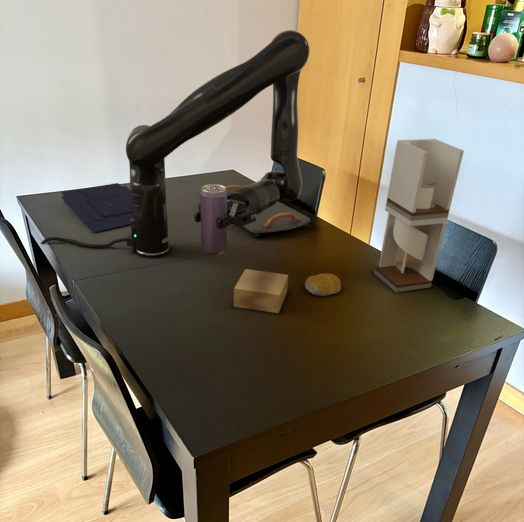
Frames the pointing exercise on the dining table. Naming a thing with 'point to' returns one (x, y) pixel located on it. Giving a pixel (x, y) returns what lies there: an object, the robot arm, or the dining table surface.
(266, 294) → the birch block
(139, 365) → the dining table surface
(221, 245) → the beverage can
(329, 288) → the bread roll
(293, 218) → the serving tray
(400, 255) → the architectural tower model
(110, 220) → the folded navy cloth
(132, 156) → the robot arm
